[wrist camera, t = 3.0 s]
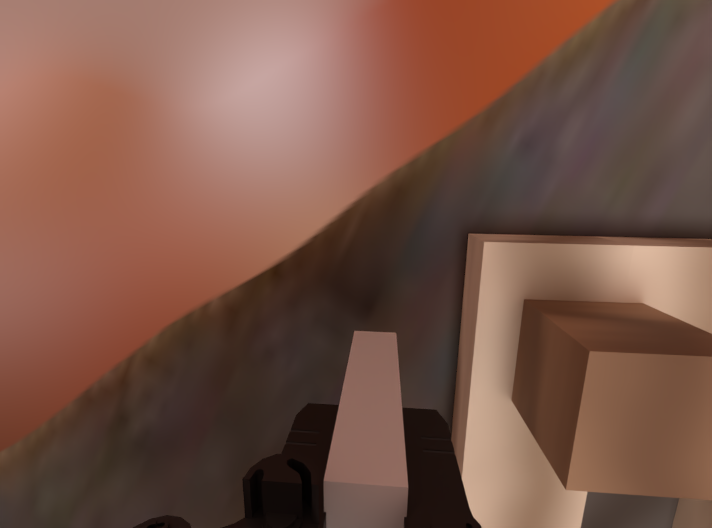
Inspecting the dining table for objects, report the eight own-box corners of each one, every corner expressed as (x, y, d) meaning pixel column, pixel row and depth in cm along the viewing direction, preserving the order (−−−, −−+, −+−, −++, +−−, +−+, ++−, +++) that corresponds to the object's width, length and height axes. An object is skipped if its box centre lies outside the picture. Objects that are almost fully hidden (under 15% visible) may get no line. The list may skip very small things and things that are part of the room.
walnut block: (511, 400, 15) (565, 489, 10) (523, 299, 14) (589, 351, 9) (622, 406, 15) (726, 501, 10) (643, 303, 14) (768, 359, 9)
